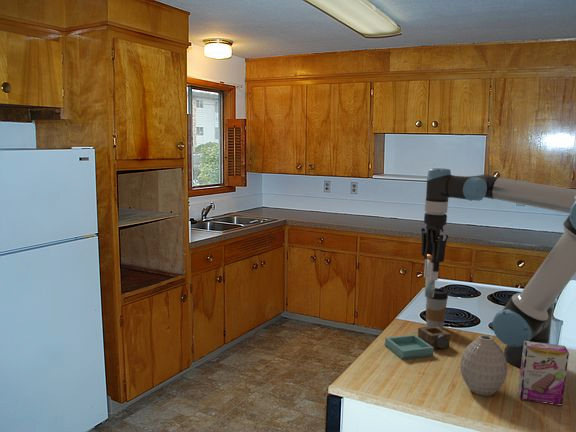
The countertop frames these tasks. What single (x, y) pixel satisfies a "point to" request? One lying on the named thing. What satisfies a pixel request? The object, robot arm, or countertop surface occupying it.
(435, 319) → the coffee cup
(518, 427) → the countertop surface
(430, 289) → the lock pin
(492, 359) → the vase
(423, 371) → the countertop surface
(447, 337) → the tensioner block
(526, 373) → the candy bar box
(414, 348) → the tray
